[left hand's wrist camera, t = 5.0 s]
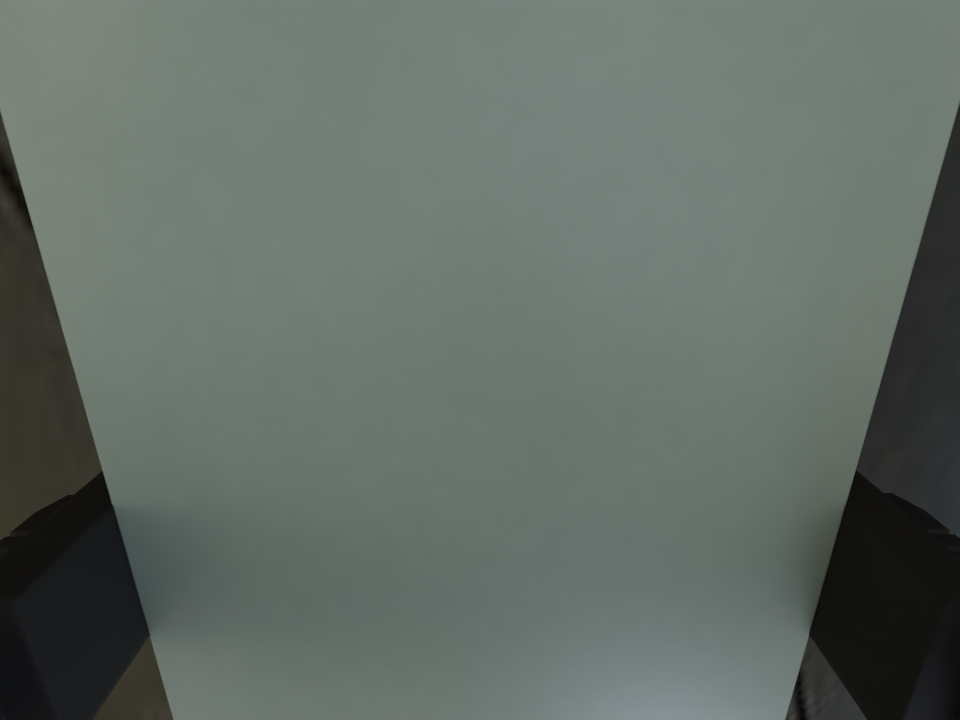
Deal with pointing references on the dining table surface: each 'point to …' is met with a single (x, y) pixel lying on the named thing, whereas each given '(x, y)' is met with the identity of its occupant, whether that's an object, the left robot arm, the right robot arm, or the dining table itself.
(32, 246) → the dining table surface
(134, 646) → the left robot arm
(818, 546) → the cabinet
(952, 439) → the dining table surface
